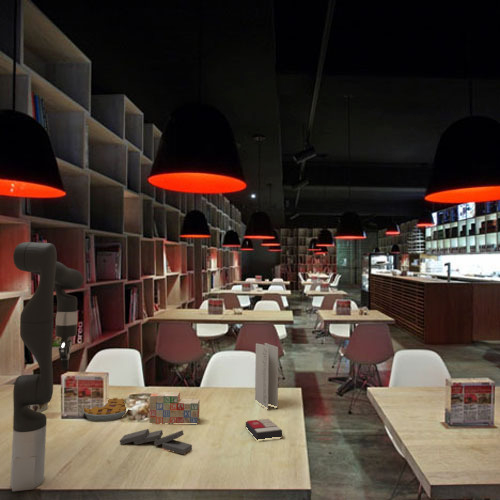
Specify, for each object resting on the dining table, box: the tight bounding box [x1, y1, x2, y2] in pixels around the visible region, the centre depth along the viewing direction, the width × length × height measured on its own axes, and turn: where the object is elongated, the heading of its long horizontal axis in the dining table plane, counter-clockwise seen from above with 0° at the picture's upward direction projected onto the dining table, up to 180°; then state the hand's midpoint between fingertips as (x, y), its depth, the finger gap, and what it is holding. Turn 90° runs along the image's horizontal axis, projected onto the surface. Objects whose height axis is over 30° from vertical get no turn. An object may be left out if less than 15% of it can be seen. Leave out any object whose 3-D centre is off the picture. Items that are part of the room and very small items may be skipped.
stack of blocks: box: [148, 391, 201, 425], centre depth 180 cm, size 21×6×12 cm, turn 89°
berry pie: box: [82, 397, 126, 422], centre depth 188 cm, size 22×22×5 cm
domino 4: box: [161, 439, 193, 455], centre depth 151 cm, size 2×5×10 cm
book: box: [245, 418, 283, 440], centre depth 168 cm, size 11×4×15 cm
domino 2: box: [133, 429, 164, 446], centre depth 157 cm, size 2×5×10 cm
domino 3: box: [153, 429, 185, 447], centre depth 154 cm, size 2×5×10 cm
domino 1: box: [119, 428, 150, 445], centre depth 157 cm, size 2×5×10 cm
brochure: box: [254, 342, 279, 409], centre depth 204 cm, size 14×6×30 cm, turn 25°
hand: (64, 369), depth 153 cm, fingers closed
